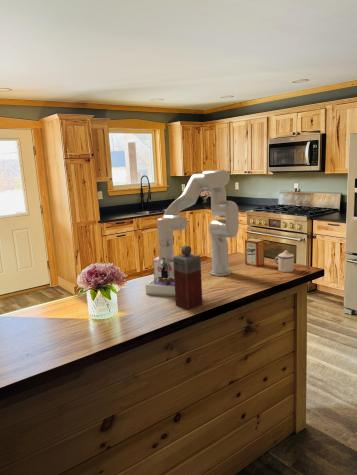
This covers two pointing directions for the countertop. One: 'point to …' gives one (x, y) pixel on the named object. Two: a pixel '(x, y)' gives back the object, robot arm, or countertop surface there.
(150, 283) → the tray
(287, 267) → the teacup with lid
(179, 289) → the red canister with lid
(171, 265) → the candy box
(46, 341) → the countertop surface
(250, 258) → the baking soda box
